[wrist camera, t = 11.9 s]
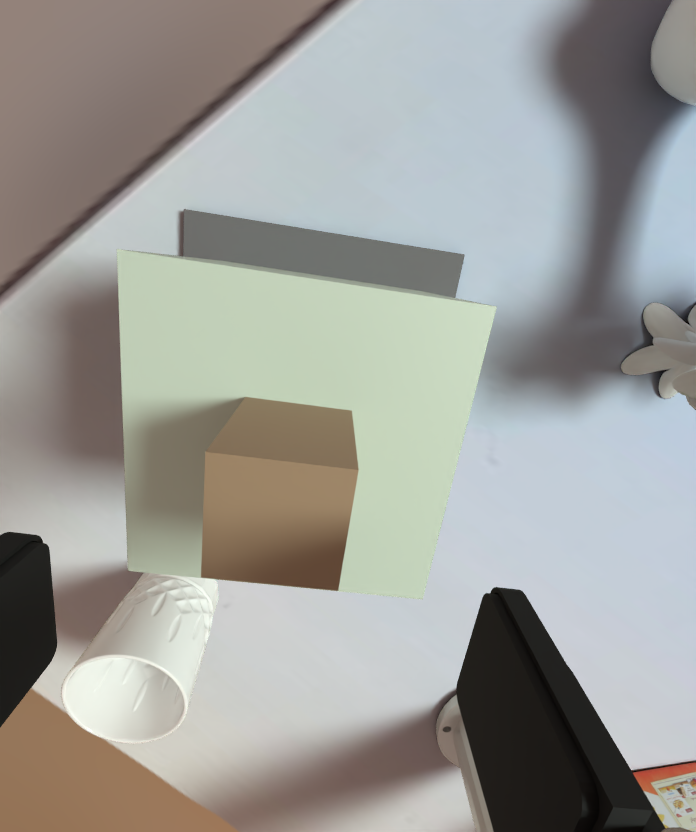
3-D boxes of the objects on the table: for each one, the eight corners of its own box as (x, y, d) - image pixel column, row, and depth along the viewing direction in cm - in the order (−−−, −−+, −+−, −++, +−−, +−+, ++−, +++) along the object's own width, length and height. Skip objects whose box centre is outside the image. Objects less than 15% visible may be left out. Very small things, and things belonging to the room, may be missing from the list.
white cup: (115, 570, 35) (34, 680, 26) (196, 537, 34) (143, 639, 25) (165, 635, 37) (108, 757, 28) (242, 605, 37) (210, 721, 27)
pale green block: (420, 290, 28) (574, 322, 10) (387, 465, 32) (451, 709, 14) (224, 261, 27) (-2, 236, 9) (216, 444, 31) (52, 679, 13)
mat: (461, 254, 27) (464, 254, 27) (409, 491, 33) (411, 495, 33) (187, 210, 26) (184, 209, 26) (182, 465, 32) (179, 468, 31)
